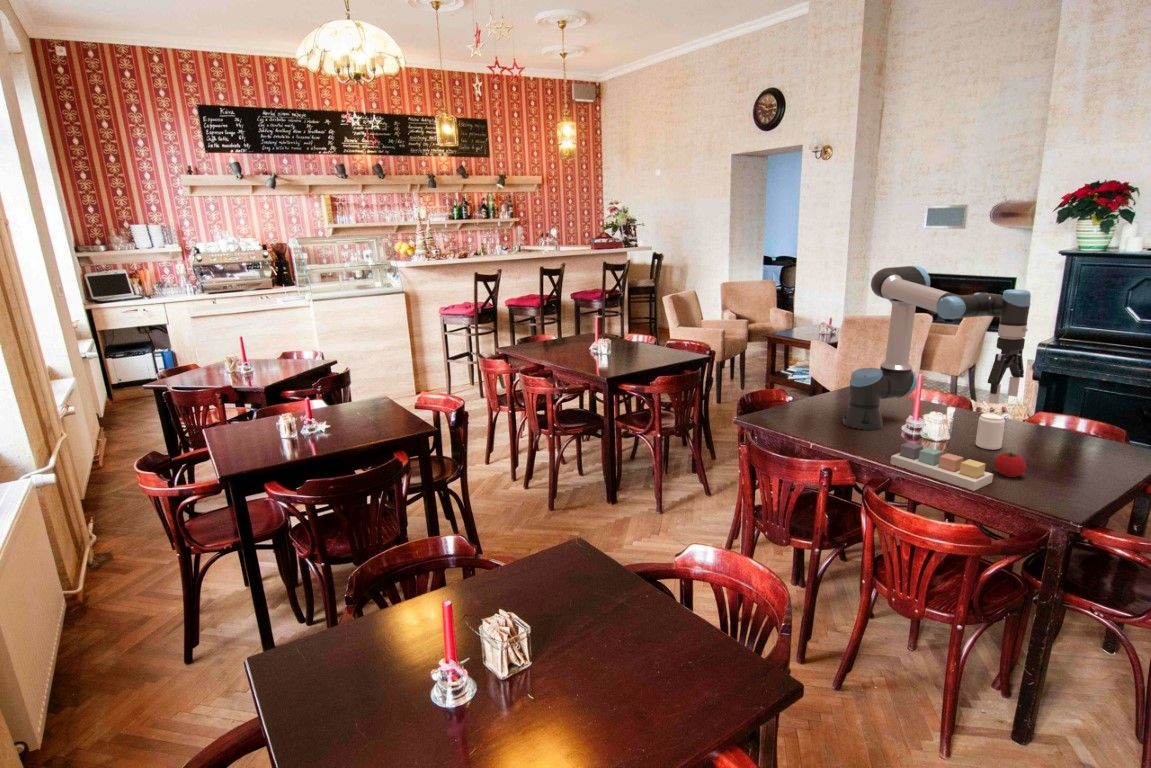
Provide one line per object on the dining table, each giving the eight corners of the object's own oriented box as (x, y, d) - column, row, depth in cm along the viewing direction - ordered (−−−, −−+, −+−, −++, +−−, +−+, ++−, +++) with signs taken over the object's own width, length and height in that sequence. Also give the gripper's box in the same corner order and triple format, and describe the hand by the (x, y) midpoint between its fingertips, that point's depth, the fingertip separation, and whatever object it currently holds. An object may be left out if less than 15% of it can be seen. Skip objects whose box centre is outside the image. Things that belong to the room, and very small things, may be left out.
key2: (918, 462, 215) (919, 450, 214) (926, 459, 218) (928, 447, 217) (933, 467, 211) (934, 454, 210) (941, 463, 214) (942, 451, 213)
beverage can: (993, 443, 237) (998, 412, 234) (1005, 450, 230) (1010, 419, 227) (971, 443, 238) (975, 412, 235) (982, 450, 230) (986, 419, 227)
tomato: (1013, 482, 203) (1016, 459, 201) (986, 472, 211) (989, 450, 209) (1030, 477, 207) (1034, 454, 205) (1003, 468, 214) (1006, 446, 212)
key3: (938, 468, 210) (939, 456, 209) (946, 465, 212) (948, 453, 211) (953, 473, 206) (955, 460, 205) (961, 469, 208) (963, 457, 207)
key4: (959, 475, 204) (960, 462, 203) (967, 471, 207) (969, 459, 206) (975, 480, 200) (977, 467, 199) (983, 476, 203) (985, 463, 201)
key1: (899, 456, 221) (900, 445, 220) (907, 453, 224) (909, 442, 222) (913, 461, 217) (914, 449, 216) (921, 457, 219) (923, 446, 218)
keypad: (890, 463, 221) (891, 455, 220) (908, 457, 227) (909, 449, 226) (973, 490, 198) (975, 482, 197) (991, 482, 204) (993, 473, 203)
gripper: (1006, 343, 198) (997, 408, 203) (1041, 334, 211) (1032, 395, 216) (980, 340, 204) (972, 403, 209) (1015, 331, 217) (1008, 390, 222)
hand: (1003, 399), depth 212 cm, fingers open, 13 cm apart
